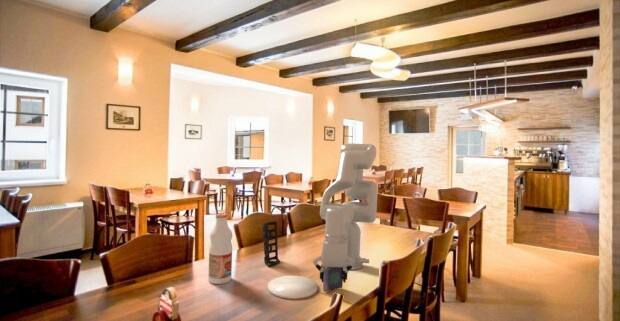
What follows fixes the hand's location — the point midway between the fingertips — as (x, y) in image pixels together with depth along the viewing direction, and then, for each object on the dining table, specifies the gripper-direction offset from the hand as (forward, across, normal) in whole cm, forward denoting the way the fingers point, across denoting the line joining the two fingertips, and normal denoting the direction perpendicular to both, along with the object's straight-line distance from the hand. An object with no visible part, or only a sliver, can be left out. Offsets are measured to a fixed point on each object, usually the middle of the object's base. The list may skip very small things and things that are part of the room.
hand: (333, 280), depth 132 cm
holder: (+5, +28, -29) cm, 41 cm away
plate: (+4, +16, -1) cm, 17 cm away
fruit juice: (+4, +47, -7) cm, 48 cm away
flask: (+3, 0, 0) cm, 3 cm away
